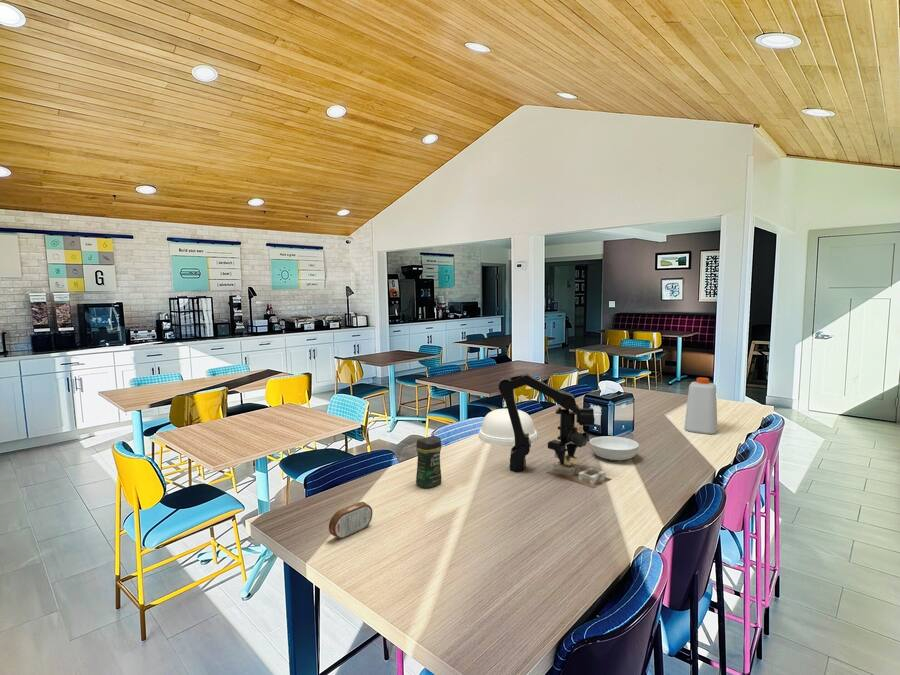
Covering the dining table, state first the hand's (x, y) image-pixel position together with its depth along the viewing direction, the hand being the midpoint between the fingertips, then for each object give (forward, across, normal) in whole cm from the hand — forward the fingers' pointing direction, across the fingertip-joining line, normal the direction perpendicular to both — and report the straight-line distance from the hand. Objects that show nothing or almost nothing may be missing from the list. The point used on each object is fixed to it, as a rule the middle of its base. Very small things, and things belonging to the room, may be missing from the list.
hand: (566, 462), depth 197 cm
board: (+5, 0, -6) cm, 7 cm away
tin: (+5, -89, +17) cm, 91 cm away
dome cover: (+6, +22, +50) cm, 55 cm away
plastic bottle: (+5, +106, -12) cm, 107 cm away
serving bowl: (+5, +33, -2) cm, 34 cm away
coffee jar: (+5, -47, +30) cm, 56 cm away
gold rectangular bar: (+4, 0, 0) cm, 4 cm away
